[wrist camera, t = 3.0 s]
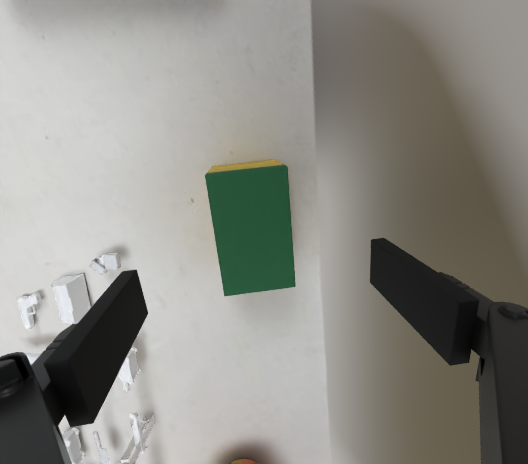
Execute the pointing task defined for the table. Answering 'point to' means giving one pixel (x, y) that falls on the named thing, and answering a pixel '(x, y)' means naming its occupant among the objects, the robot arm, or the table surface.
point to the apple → (243, 461)
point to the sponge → (252, 226)
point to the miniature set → (72, 311)
